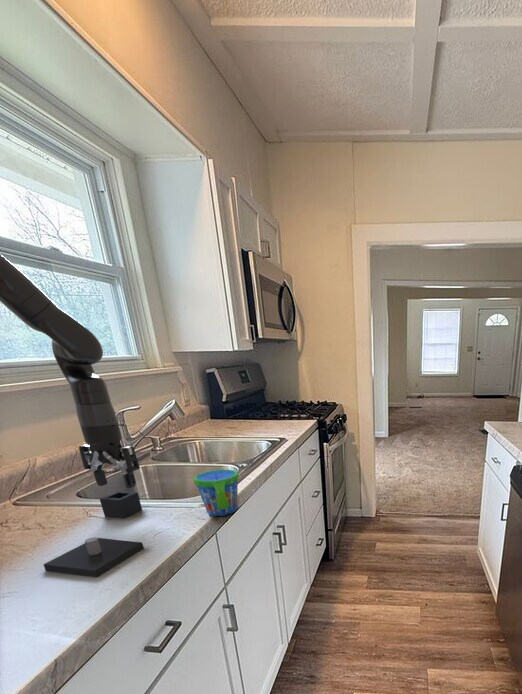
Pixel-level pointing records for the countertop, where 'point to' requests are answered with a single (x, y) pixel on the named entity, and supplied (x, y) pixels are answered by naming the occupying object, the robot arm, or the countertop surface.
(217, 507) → the snack cup
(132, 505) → the socket block
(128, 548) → the base pad
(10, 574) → the countertop surface
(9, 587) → the countertop surface
